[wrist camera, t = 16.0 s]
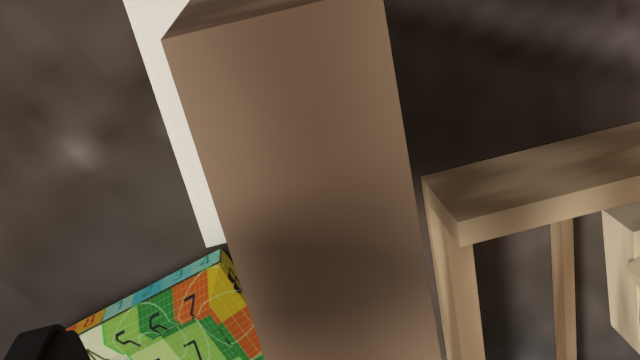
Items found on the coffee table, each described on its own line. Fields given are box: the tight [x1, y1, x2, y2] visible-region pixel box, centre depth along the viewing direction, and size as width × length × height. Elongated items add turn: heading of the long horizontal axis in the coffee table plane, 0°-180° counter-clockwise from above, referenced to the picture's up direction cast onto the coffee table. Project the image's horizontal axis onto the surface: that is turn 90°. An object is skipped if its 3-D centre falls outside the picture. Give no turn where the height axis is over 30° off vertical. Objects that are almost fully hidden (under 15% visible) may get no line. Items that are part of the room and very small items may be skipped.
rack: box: [420, 121, 640, 360], centre depth 30 cm, size 16×18×5 cm
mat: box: [123, 0, 227, 248], centre depth 25 cm, size 10×13×1 cm
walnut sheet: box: [161, 0, 441, 360], centre depth 18 cm, size 4×10×14 cm, turn 13°
